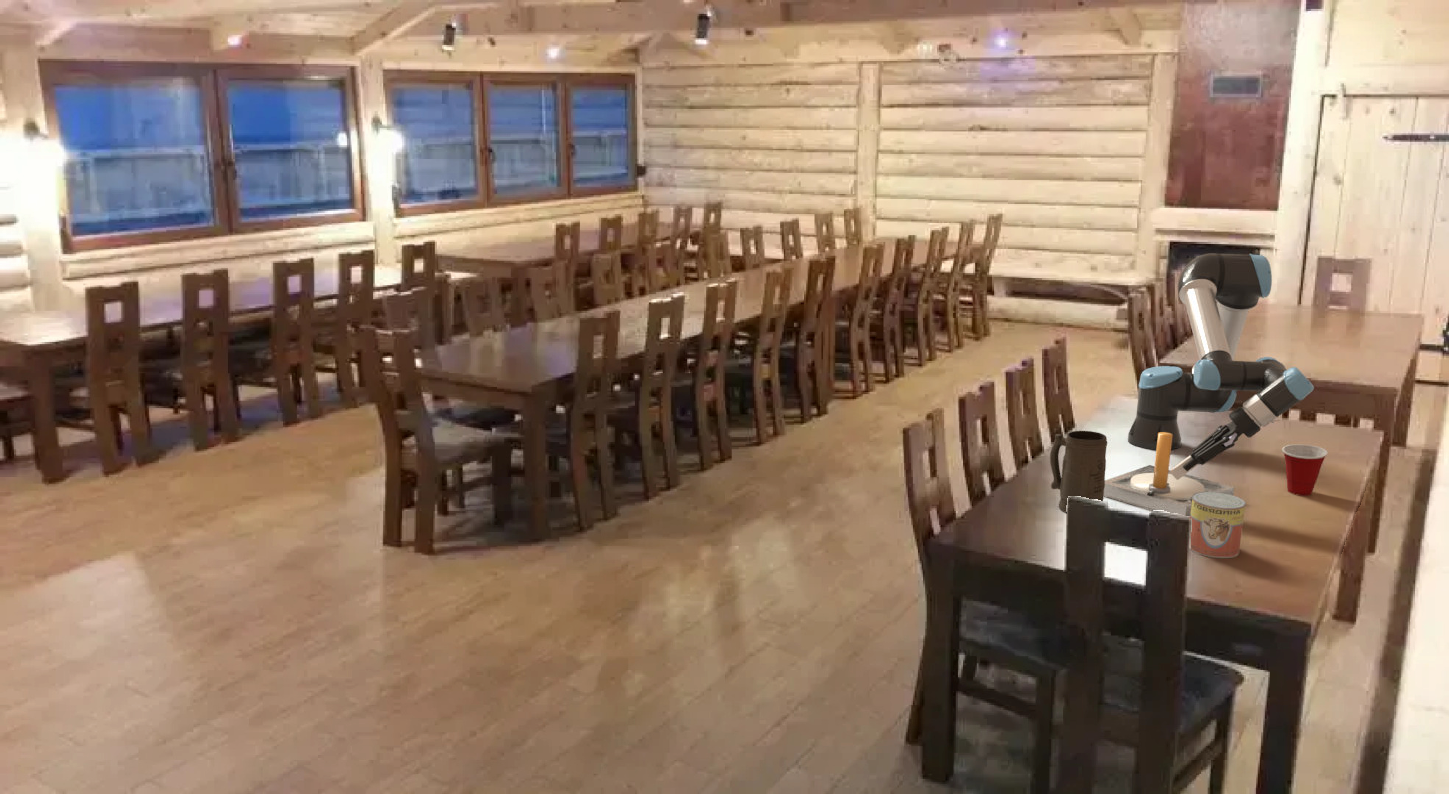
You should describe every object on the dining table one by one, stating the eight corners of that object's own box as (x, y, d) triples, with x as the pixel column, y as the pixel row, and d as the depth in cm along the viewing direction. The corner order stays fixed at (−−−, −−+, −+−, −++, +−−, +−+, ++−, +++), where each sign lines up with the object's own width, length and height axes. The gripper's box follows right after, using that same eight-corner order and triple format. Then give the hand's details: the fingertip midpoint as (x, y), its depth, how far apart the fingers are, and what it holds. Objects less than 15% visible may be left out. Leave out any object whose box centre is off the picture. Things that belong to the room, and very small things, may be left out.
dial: (1142, 473, 309) (1148, 415, 305) (1211, 487, 298) (1218, 426, 294) (1120, 491, 294) (1126, 430, 290) (1192, 505, 284) (1199, 442, 280)
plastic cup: (1267, 488, 305) (1272, 445, 302) (1296, 483, 309) (1302, 441, 306) (1301, 501, 295) (1307, 457, 292) (1331, 496, 299) (1337, 452, 296)
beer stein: (1112, 509, 287) (1115, 432, 283) (1093, 520, 280) (1095, 441, 276) (1056, 499, 298) (1058, 425, 294) (1036, 509, 290) (1037, 433, 286)
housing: (1099, 494, 298) (1100, 480, 297) (1148, 477, 313) (1149, 462, 312) (1184, 519, 280) (1186, 504, 279) (1232, 499, 295) (1234, 484, 294)
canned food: (1186, 553, 259) (1192, 504, 256) (1186, 537, 269) (1191, 489, 266) (1240, 561, 255) (1247, 510, 252) (1237, 543, 265) (1244, 495, 262)
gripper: (1266, 434, 274) (1186, 494, 282) (1257, 421, 286) (1180, 479, 295) (1245, 411, 274) (1165, 471, 283) (1237, 399, 286) (1161, 457, 295)
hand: (1173, 475), depth 289 cm, fingers closed
